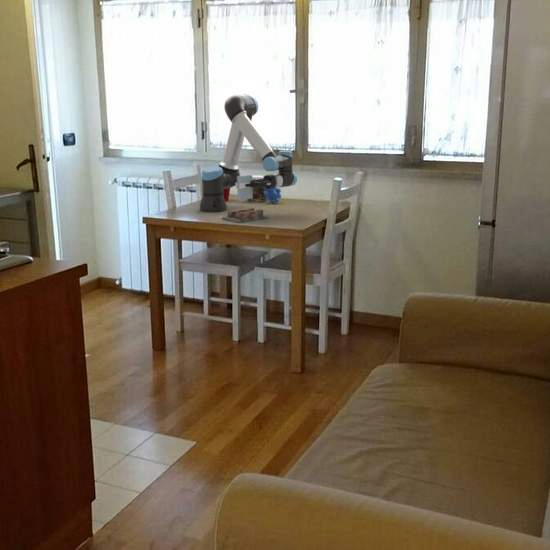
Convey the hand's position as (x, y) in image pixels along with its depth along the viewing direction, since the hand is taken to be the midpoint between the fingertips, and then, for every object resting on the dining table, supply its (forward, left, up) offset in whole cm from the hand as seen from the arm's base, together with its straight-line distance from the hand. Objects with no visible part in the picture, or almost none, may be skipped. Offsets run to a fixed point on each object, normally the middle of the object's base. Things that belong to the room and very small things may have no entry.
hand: (238, 185), depth 367 cm
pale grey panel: (+2, +4, -7) cm, 9 cm away
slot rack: (+2, +4, -18) cm, 18 cm away
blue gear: (-8, +53, -18) cm, 57 cm away
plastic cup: (-40, +49, -18) cm, 66 cm away
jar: (-21, +56, -18) cm, 63 cm away
